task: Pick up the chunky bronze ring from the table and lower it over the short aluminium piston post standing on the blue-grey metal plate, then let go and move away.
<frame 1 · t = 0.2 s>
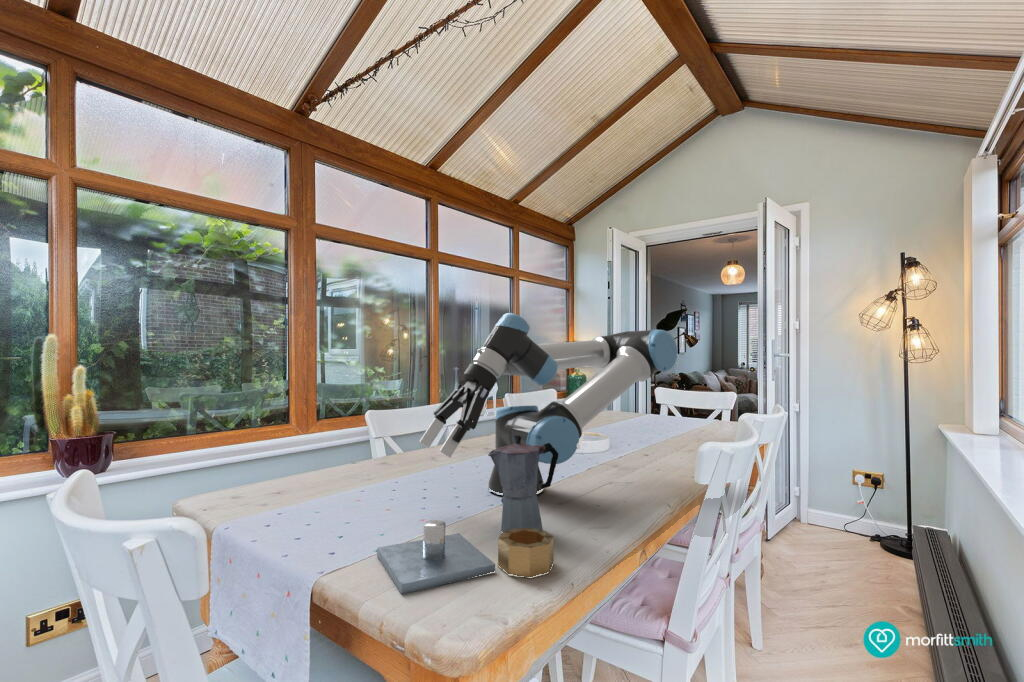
hand: (433, 449, 107), 16 cm above the table, tool tilted 35°, fingers open, 13 cm apart
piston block: (433, 564, 85), on the table
ring: (526, 566, 85), on the table
moka pot: (522, 532, 102), on the table
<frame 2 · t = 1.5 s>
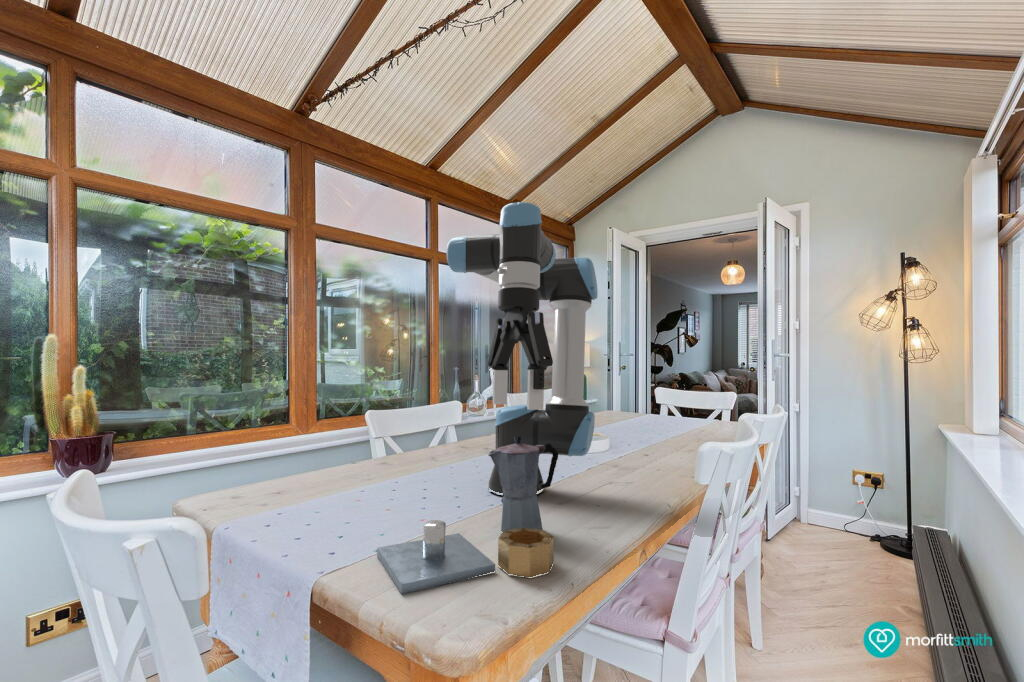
hand: (516, 406, 87), 28 cm above the table, tool pointing down, fingers open, 13 cm apart
nothing on the table moved.
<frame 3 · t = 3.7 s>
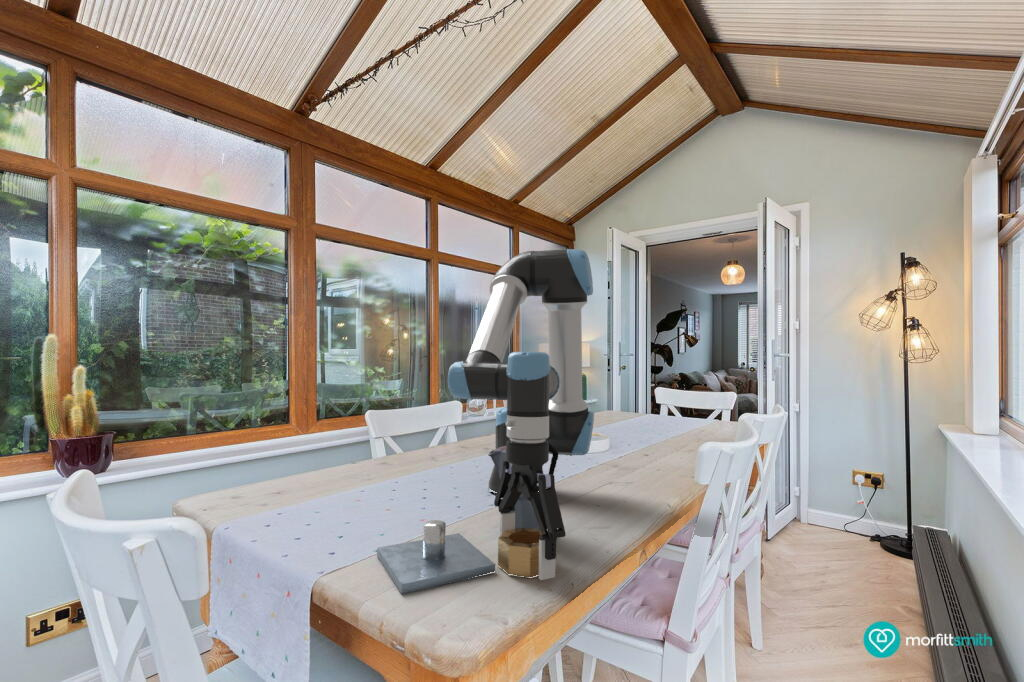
hand: (525, 562, 84), 1 cm above the table, tool pointing down, fingers open, 13 cm apart
nothing on the table moved.
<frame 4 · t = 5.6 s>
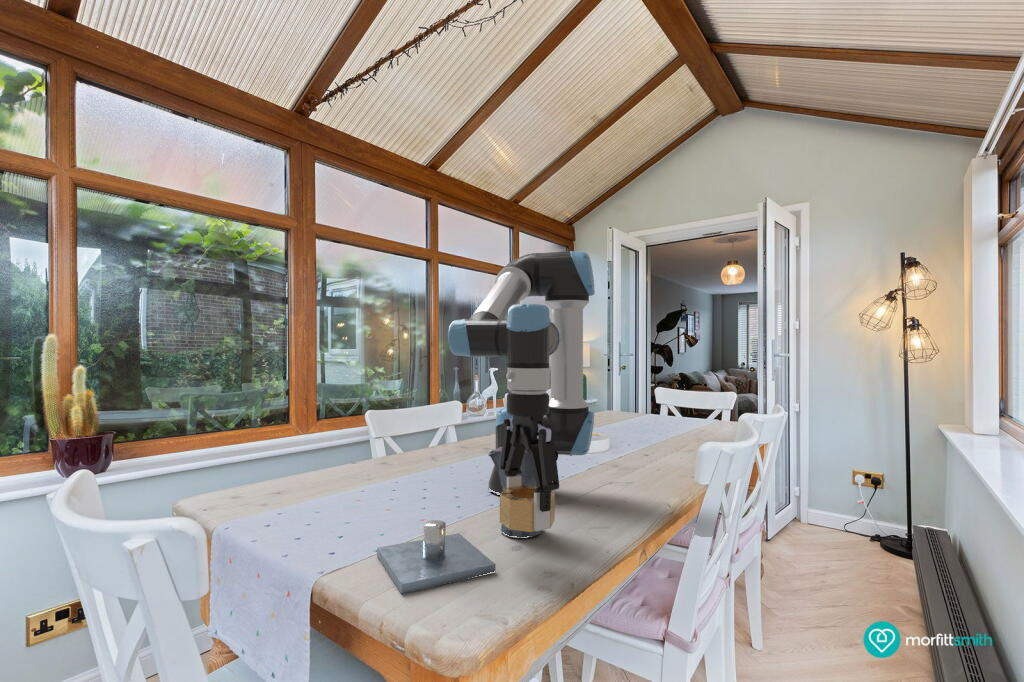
hand: (527, 519, 85), 8 cm above the table, tool pointing down, fingers closed on ring, 9 cm apart
ring: (527, 521, 85), point 8 cm above the table, touching gripper
everything else where it was.
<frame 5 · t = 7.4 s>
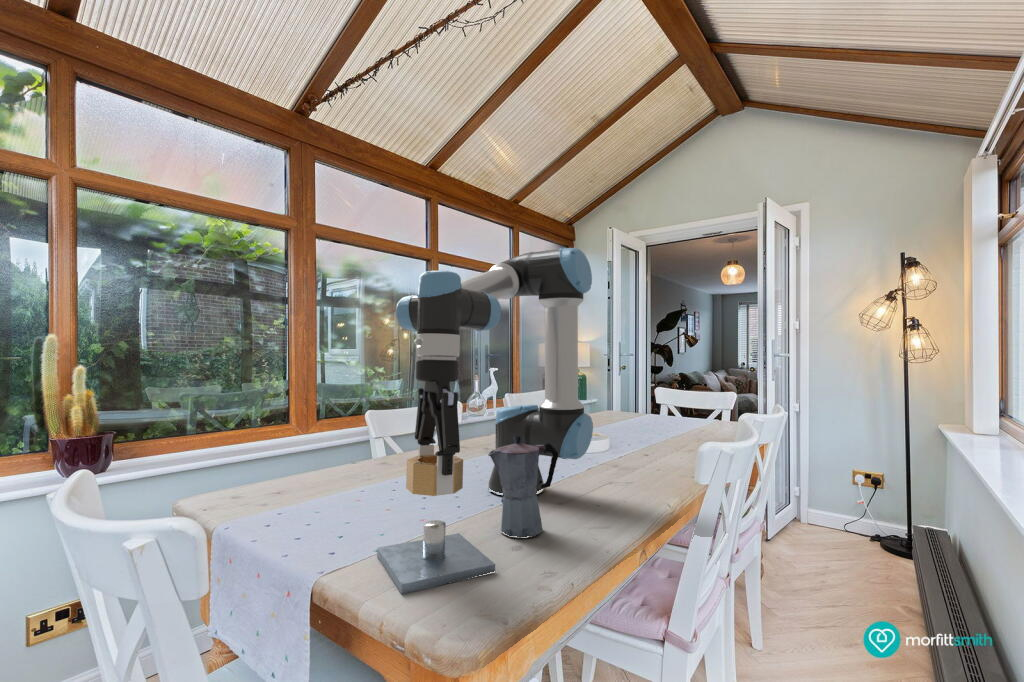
hand: (434, 487, 85), 13 cm above the table, tool pointing down, fingers closed on ring, 9 cm apart
ring: (434, 488, 85), point 13 cm above the table, touching gripper
everything else where it was.
when the fingers open (3 cm above the table, at t = 9.4 s): ring drops 1 cm, resting on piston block.
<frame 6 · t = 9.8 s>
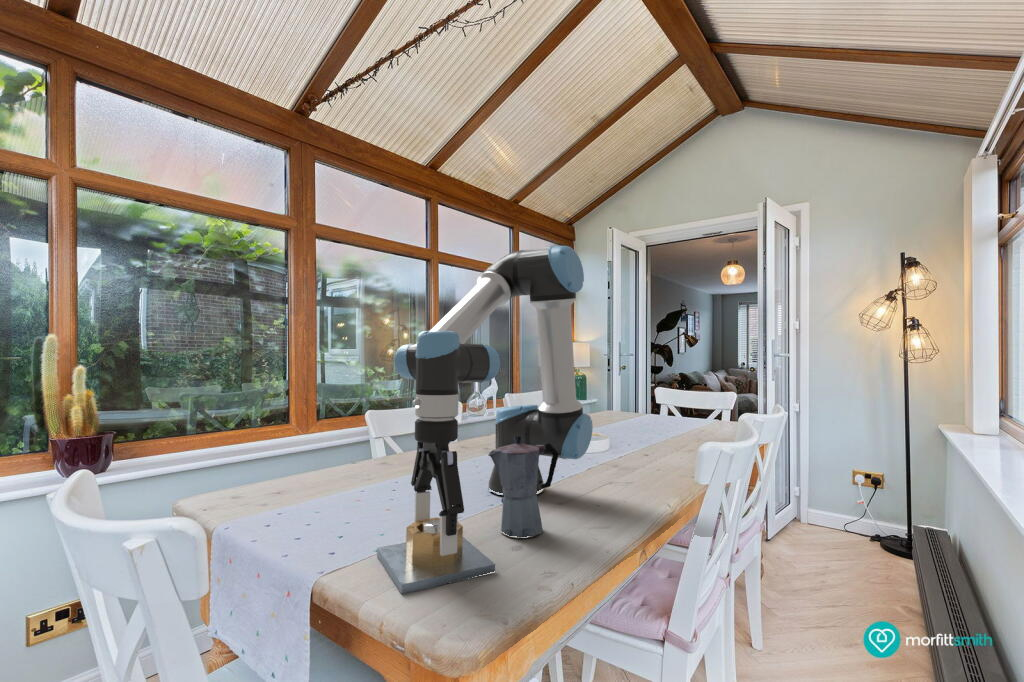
hand: (434, 540, 85), 4 cm above the table, tool pointing down, fingers open, 13 cm apart
ring: (434, 555, 85), point 1 cm above the table, touching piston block
everything else where it was.
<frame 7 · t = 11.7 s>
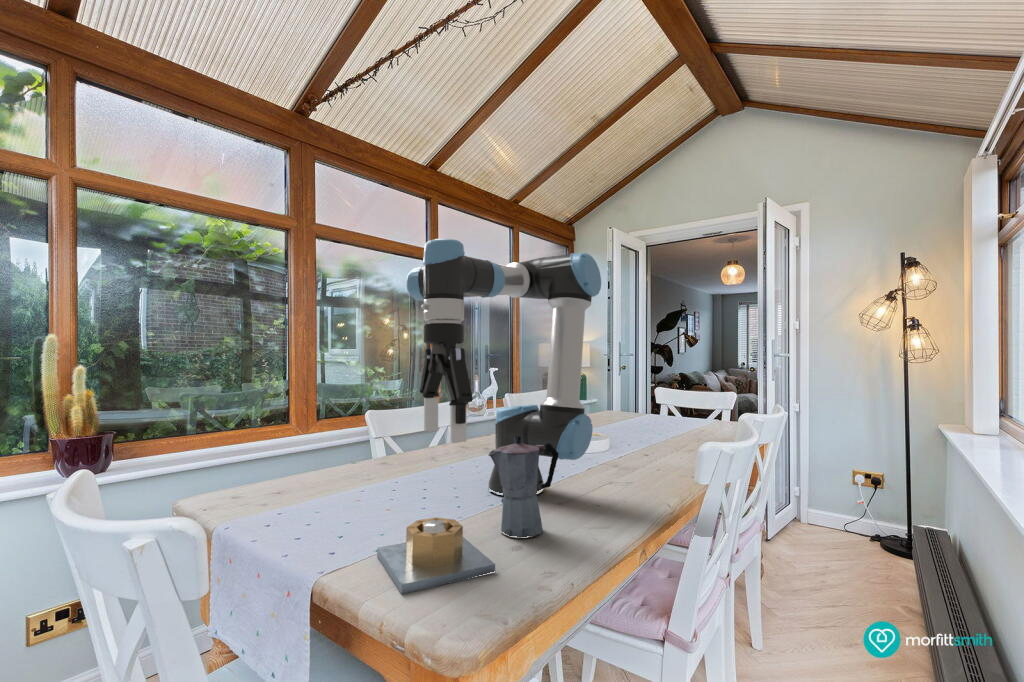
hand: (443, 436, 91), 21 cm above the table, tool pointing down, fingers open, 13 cm apart
nothing on the table moved.
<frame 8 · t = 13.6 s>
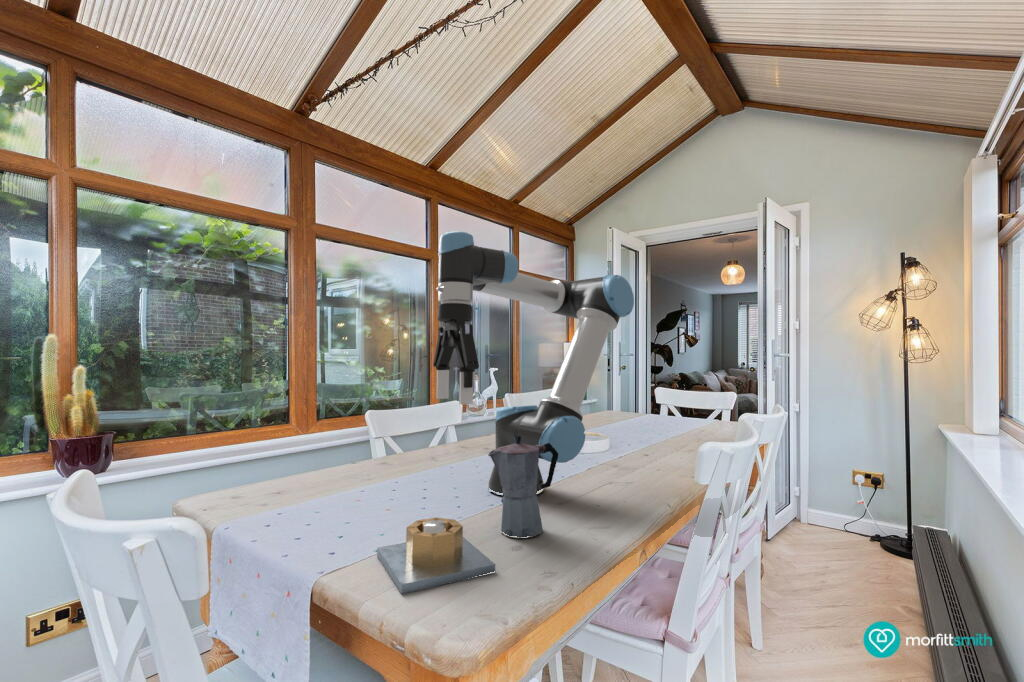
hand: (453, 401, 105), 27 cm above the table, tool pointing down, fingers open, 13 cm apart
nothing on the table moved.
at the end: ring 0.0 cm off-centre on the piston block, point 1.5 cm above the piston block's base; ring tilted 0°; the gripper is holding nothing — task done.
